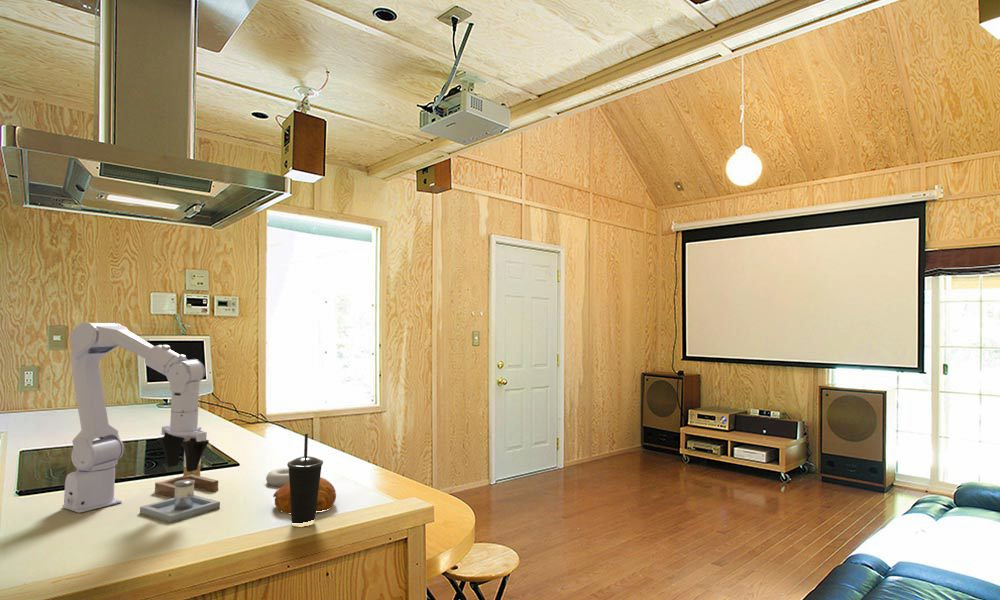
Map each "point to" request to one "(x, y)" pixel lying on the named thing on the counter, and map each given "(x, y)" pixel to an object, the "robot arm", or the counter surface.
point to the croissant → (323, 501)
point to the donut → (278, 477)
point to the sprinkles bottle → (196, 472)
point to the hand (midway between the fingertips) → (182, 468)
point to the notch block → (200, 482)
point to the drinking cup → (304, 486)
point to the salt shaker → (184, 494)
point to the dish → (169, 514)
